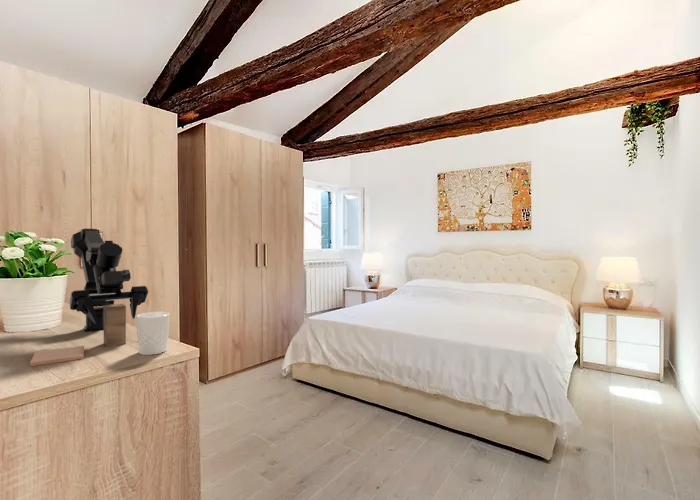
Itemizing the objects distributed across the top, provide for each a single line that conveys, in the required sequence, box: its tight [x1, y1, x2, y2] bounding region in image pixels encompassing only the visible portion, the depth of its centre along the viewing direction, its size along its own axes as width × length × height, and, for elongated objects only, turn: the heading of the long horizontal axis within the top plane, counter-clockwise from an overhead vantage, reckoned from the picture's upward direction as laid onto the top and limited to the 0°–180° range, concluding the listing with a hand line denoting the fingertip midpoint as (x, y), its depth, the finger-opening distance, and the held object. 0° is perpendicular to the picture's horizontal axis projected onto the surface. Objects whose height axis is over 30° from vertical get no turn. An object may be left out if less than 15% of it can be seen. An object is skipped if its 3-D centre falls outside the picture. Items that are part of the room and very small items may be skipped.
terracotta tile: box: [29, 345, 85, 367], centre depth 89 cm, size 10×10×1 cm
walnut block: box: [103, 303, 127, 348], centre depth 101 cm, size 4×4×11 cm
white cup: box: [135, 311, 171, 356], centre depth 94 cm, size 8×8×10 cm
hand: (115, 320), depth 100 cm, fingers open, 9 cm apart
